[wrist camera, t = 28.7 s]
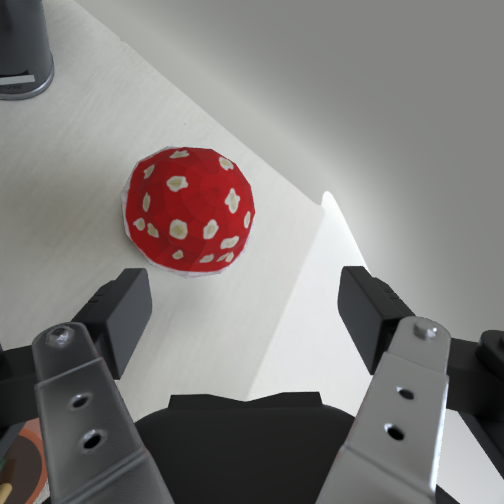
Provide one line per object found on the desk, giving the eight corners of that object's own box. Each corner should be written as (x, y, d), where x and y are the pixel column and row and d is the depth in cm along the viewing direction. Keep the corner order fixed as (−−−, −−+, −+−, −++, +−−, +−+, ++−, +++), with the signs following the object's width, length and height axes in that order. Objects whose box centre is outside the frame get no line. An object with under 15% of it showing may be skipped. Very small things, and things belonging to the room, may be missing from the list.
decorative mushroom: (142, 302, 34) (172, 304, 21) (93, 190, 34) (94, 121, 20) (239, 258, 41) (308, 239, 28) (201, 165, 40) (253, 100, 27)
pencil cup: (-9, 386, 27) (-122, 483, 13) (65, 371, 30) (39, 438, 16) (-9, 452, 27) (-127, 631, 12) (66, 431, 29) (41, 557, 15)
